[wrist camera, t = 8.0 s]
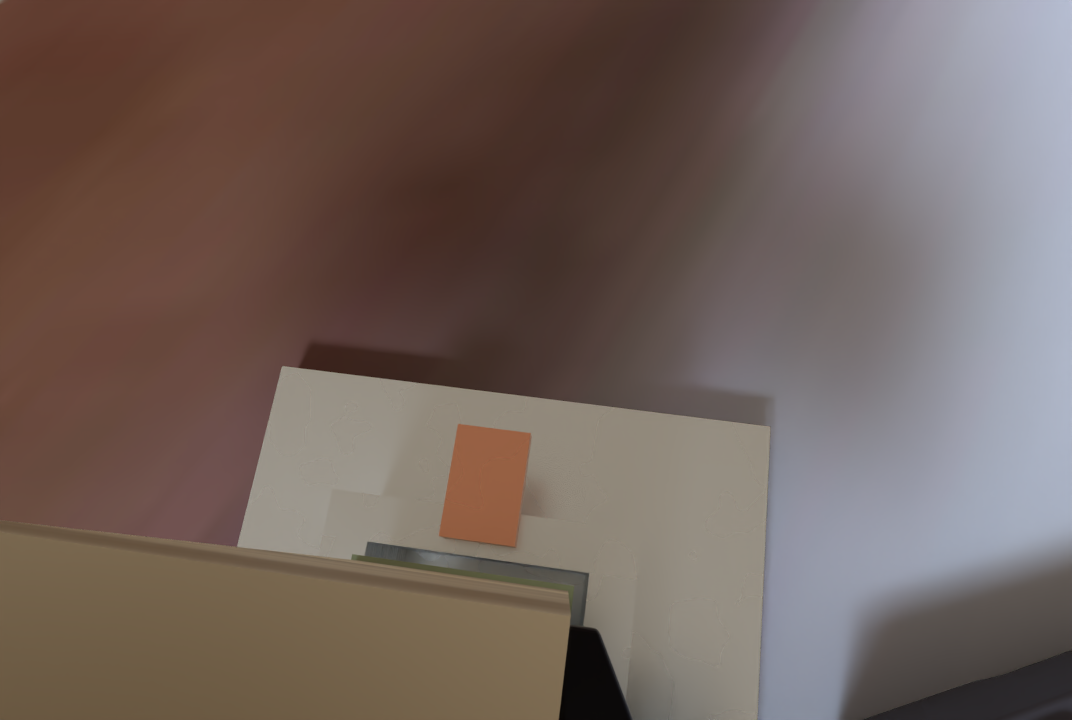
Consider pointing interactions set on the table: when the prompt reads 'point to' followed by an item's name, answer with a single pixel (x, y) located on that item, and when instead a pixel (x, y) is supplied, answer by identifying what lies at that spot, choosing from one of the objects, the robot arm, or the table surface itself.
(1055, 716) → the calculator
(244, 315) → the table surface
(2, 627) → the column
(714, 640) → the sleeve stand
